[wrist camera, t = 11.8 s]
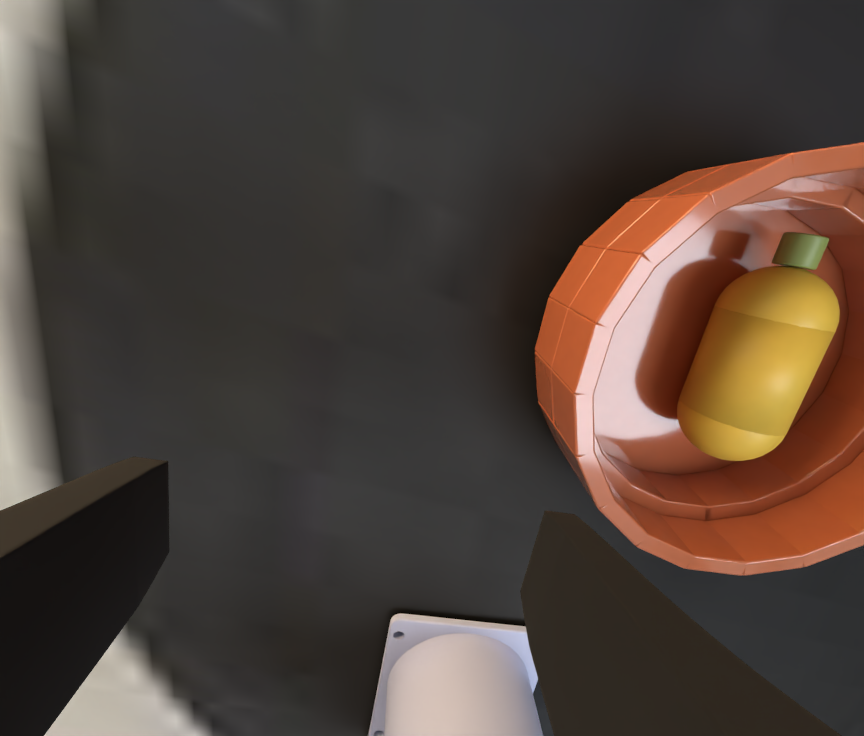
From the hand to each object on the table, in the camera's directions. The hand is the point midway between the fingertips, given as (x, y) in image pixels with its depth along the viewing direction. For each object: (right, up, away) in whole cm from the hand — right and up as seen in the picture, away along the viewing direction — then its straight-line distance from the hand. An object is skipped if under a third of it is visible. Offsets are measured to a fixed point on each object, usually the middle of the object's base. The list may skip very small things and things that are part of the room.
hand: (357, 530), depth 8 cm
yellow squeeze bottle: (+12, +4, +8) cm, 15 cm away
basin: (+12, +4, +9) cm, 16 cm away
